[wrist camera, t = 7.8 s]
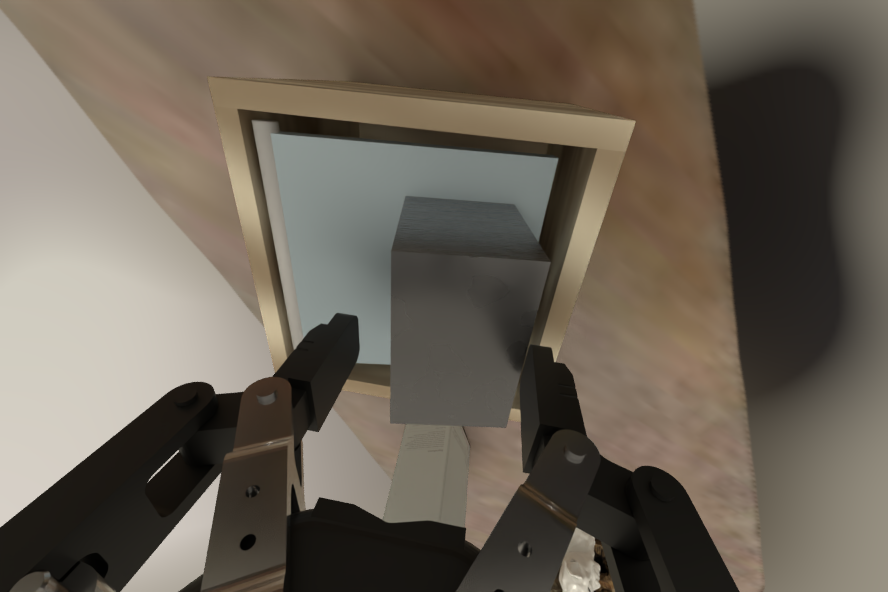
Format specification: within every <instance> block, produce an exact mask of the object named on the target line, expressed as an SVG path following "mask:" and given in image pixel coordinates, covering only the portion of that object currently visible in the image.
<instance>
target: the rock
mask: <svg viewBox="0 0 888 592" xmlns="http://www.w3.org/2000/svg"><path fill="white" fill-rule="evenodd" d="M594 553H595V555H594V561H595V562H596V563H599V565H600V571H599V573H600V576H599V578H600V579H599V581H598V582H599V583H600V585H601V586H600V588H599V589H596V590H594V592H615V589H614V586H613V582H612V579H611V575H610V572H609V568H608V565H607V561H606V558H605V554H604V551H603V547H602V544H601V542H600V541H599V540H598V539H596V540H595V545H594ZM560 568H561V566H560ZM559 573H560V569H559V571H558V574H557V576H556V579H555V581H554V583H553V586H552V588H551V591H550V592H562V590H563V589H562V587H561V584H560V582H559Z"/></svg>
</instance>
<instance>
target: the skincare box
mask: <svg viewBox="0 0 888 592" xmlns="http://www.w3.org/2000/svg"><path fill="white" fill-rule="evenodd" d="M469 455H470V445H469V443H468V440H467V438H466V435H465V433H464V430H463V427H462V426H448V425H422V424H406V426H405V430H404V434H403V438H402V443H401V447H400V451H399V455H398V459H397V463H396V467H395V471H394V475H393V479H392V484H391V488H390V492H389V496H388V500H387V504H386V509H385V513H384V516H383V521H385V522H388V523H398V522H411V521H425V520H430V521H435V522H440V523H445V524H450V525H454V526H459V527H464V528H465V517H466V501H467V485H468V470H469Z"/></svg>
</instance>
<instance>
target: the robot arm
mask: <svg viewBox="0 0 888 592" xmlns="http://www.w3.org/2000/svg"><path fill="white" fill-rule="evenodd" d="M359 351H360V342H359V324H358V317H357V316H355V315H349V314H343V313H336V314H335V315H334V316H333V318H332V319H331V320H330V322H329V323H328V324H322V323H321V324H319V325H318V326H316V327H315V328H313V329H311V330H310V331H309V332H308V333H307V334H306V336H305V337H304V338H303V339H302V342H300V343H299V344H298V346H297V347H296V349H294V350H293V352H292V353H291V354H290V355H289V357H288V358H287V359H286V360H285V362H284V363H283V364H282V365H281V367H280V368H279V369H278V370H277V372H276V373H275V374H274V375H273V377H268V378H264V379H261V380H258V381H256V382H254V383H253V384H251V385H250V386H249V387H248V388H247V389H246V390H245V391H244V392H238V393H226V394H215V391H214V389H213V387H212V386H211V385H210V384H208V383H204V382H192V383H187V384H184V385H181V386H179V387H176V388H175V389H173V390H171V391H170V392H168V393H167V394H166V395H164V396H163V397H162V398H161V399H159V400H158V401H157V402H156V403H154V404H153V405H152V406H151V407H150V408H148V409H147V410H146V411H145V412H143V413H142V414H141V415H139V416H138V417H137V418H136V419H135V420H133V421H132V422H131V423H130V424H128V425H127V426H126V427H125V428H123V429H122V430H121V431H120V432H118V433H117V434H116V435H115V436H113V437H112V438H111V439H110V440H108V441H107V442H106V443H105V444H103V445H102V446H101V447H100V448H98V449H97V450H96V451H95V452H93V453H92V454H91V455H90V456H89V457H87V458H86V459H85V460H84V461H82V462H81V463H80V464H79V465H77V466H76V467H75V468H74V469H73V470H71V471H70V472H69V473H67V474H66V475H65V476H64V477H63V478H61V479H60V480H59V481H57V482H56V483H55V484H54V485H53V486H51V487H50V488H49V489H48V490H46V491H45V492H44V493H43V494H41V495H40V496H39V497H38V498H36V499H35V500H34V501H33V502H32V503H30V504H29V505H28V506H27V507H25V508H24V509H23V510H21V511H20V512H19V513H18V514H16V515H15V516H14V517H13V518H12V519H10V520H9V521H8V522H7V523H5V524H4V525H3V526H2V527H0V592H120V591H121V590H122V589H123V587H124V586H125V585H126V584H127V583H128V582H129V581H130V579H131V578H132V577H133V576H134V574H136V572H137V571H138V570H139V569H140V568H141V566H142V565H143V564H144V563H145V561H146V560H147V559H148V558H149V557H150V556H151V554H152V553H153V552H154V551H155V550H156V549H157V548H158V546H159V545H160V544H161V543H162V541H163V540H164V539H165V538H166V537H167V536H168V534H169V533H170V532H171V531H172V530H173V529H174V527H175V526H176V525H177V524H178V523H179V521H180V520H181V519H182V518H183V517H184V516H185V514H186V513H187V512H188V511H189V510H190V508H191V507H192V506H193V505H194V503H195V502H196V501H197V500H198V499H199V498H200V497H201V495H202V494H203V493H204V492H205V491H206V489H207V488H208V487H209V486H210V485H211V484H212V482H213V481H214V480H215V479H216V477H217V476H218V475H219V474H220V473H221V478H220V484H219V489H218V495H217V500H216V506H215V512H214V517H213V524H212V529H211V534H210V540H209V546H208V551H207V557H206V563H205V568H204V574H202V575H201V576H199V577H198V578H197V579H195V580H194V581H193V582H191V583H190V584H188V585H187V586H186V587H184V588H183V589H182V590H180V591H179V592H550V591H551V588H552V586H553V583H554V581H555V579H556V576H557V574H558V571H559V569H560V566H561V564H562V561H563V559H564V556H565V554H566V551H567V549H568V546H569V544H570V541H571V539H572V536H573V534H574V531H575V529H576V528H578V529H580V530H582V531H584V532H585V533H587V534H589V535H591V536H593V537H595V538H596V539H598V540H600V541H601V544H602V547H603V551H604V554H605V558H606V561H607V565H608V568H609V572H610V575H611V579H612V582H613V586H614V589H615V592H739V590H738V588H737V586H736V584H735V582H734V580H733V578H732V577H731V575H730V573H729V571H728V569H727V567H726V565H725V563H724V562H723V560H722V558H721V556H720V554H719V552H718V550H717V548H716V546H715V545H714V543H713V541H712V539H711V537H710V535H709V533H708V531H707V529H706V528H705V526H704V524H703V522H702V520H701V518H700V516H699V514H698V512H697V511H696V509H695V507H694V505H693V503H692V501H691V499H690V497H689V495H688V494H687V492H686V490H685V489H684V487H683V486H682V485H681V484H680V483H679V482H678V481H677V480H676V479H675V478H674V477H673V476H671V475H670V474H669V473H667V472H665V471H663V470H661V469H659V468H656V467H652V466H641V467H639V468H637V469H636V470H635V471H634V472H632V471H630V470H627V469H625V468H623V467H621V466H619V465H617V464H615V463H612V462H611V461H609V460H607V459H606V458H604V457H603V456H601V455H600V453H599V451H598V449H597V447H596V446H595V444H594V443H593V442H592V441H591V440H590V439H589V438H588V437H587V435H586V431H585V427H584V422H583V418H582V413H581V409H580V405H579V400H578V399H577V397H578V396H577V392H576V389H575V383H574V379H573V375H572V373H571V372H570V371H569V369H568V368H567V367H566V365H565V364H562V363H556V362H554V358H553V352H552V348H551V347H545V346H539V345H533V344H530V346H529V349H528V352H527V356H526V360H525V363H524V367H523V371H522V375H521V380H520V414H521V438H522V461H523V472H524V473H529V476H528V478H527V479H526V481H525V483H524V484H523V485H522V484H521V485H520V486H519V488H518V489H517V491H516V493H515V494H514V496H513V497H512V499H511V501H510V502H509V504H508V506H507V507H506V509H505V511H504V512H503V514H502V516H501V517H500V519H499V521H498V522H497V524H496V526H495V527H494V529H493V531H492V533H491V534H490V536H489V538H488V539H487V541H486V543H485V544H484V546H483V548H482V549H481V550H480V549H478V548H477V547H476V546H474V545H473V544H471V543H469V542H468V541H466V540H465V533H466V528H464V527H459V526H454V525H450V524H445V523H440V522H435V521H430V520H425V521H411V522H398V523H388V522H385V521H383V520H382V519H380V518H378V517H376V516H374V515H372V514H371V513H368V512H367V511H365V510H363V509H361V508H360V507H358V506H356V505H354V504H349V503H344V502H340V501H335V500H330V499H325V498H319V499H318V501H317V503H316V506H315V508H314V509H309V510H306V508H305V501H304V473H303V442H302V438H303V437H304V435H305V433H306V432H307V430H311V431H316V432H319V430H320V428H321V427H322V425H323V423H324V421H325V419H326V417H327V416H328V414H329V412H330V410H331V408H332V406H333V405H334V403H335V401H336V399H337V397H338V395H339V394H340V392H341V390H342V388H343V386H344V384H345V382H346V381H347V379H348V377H349V375H350V373H351V371H352V370H353V368H354V366H355V364H356V362H357V360H358V356H359ZM177 450H179V452H178V453H177V454H176V455H175V456H174V457H173V458H172V459H171V460H170V461H169V462H168V463H167V464H166V465H165V466H164V467H163V468H162V469H161V470H160V471H159V472H158V473H157V474H156V475H155V476H154V477H153V478H152V479H151V480H150V481H149V479H150V478H151V476H152V475H153V474H154V473H155V472H156V471H157V470H158V469H159V468H160V467H161V466H162V465H163V464H164V463H165V462H166V461H167V460H168V459H169V458H170V457H171V456H172V455H173V454H174V453H175V452H176V451H177ZM148 481H149V482H148Z"/></svg>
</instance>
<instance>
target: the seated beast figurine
mask: <svg viewBox="0 0 888 592" xmlns="http://www.w3.org/2000/svg"><path fill="white" fill-rule="evenodd" d="M594 545H595V537H593V536H591V535H589V534H587V533H585V532H584V531H582V530H580V529H578V528H576V529H575V531H574V534H573V536H572V539H571V541H570V544H569V546H568V549H567V551H566V554H565V557H564V559H563V561H562V566H561V568H560V573H559V582H560V584H561V587H562V589H563V590H562V592H594V590H596V589H599V588H600V586H601V585H600V583H599V582H598V581H599V579H600V578H599V576H600V573H599V571H600V565H599V563H596V562H595V561H594V555H595V553H594Z"/></svg>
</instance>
